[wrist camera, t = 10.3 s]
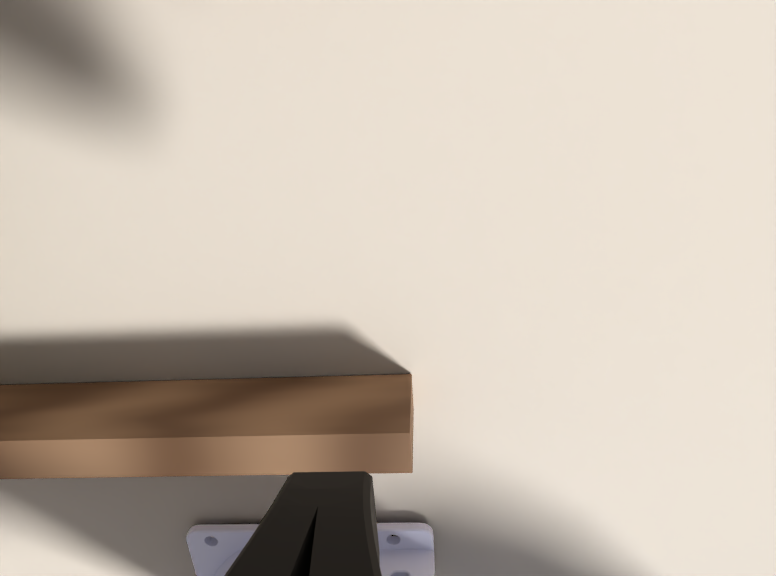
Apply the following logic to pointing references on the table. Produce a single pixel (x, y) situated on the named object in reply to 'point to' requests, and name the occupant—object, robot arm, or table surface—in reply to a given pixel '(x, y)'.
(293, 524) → the robot arm
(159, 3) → the table surface
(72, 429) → the bay
